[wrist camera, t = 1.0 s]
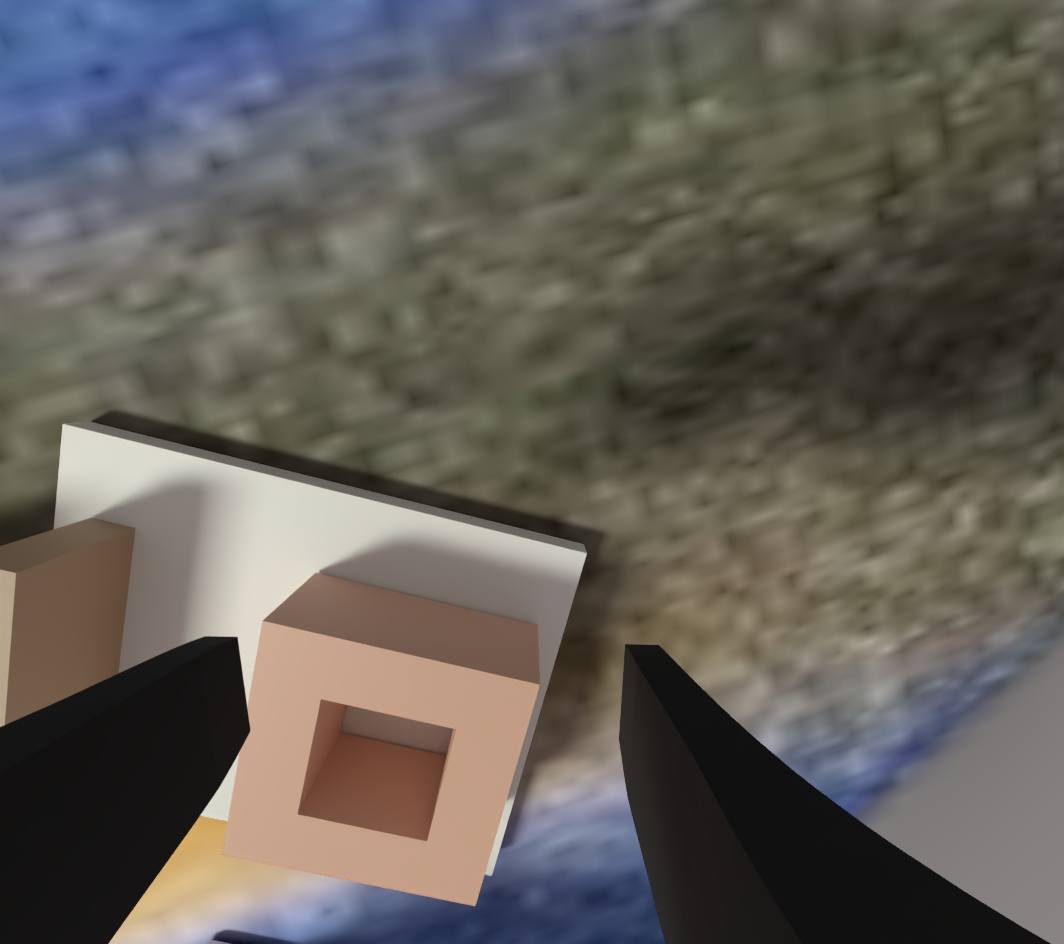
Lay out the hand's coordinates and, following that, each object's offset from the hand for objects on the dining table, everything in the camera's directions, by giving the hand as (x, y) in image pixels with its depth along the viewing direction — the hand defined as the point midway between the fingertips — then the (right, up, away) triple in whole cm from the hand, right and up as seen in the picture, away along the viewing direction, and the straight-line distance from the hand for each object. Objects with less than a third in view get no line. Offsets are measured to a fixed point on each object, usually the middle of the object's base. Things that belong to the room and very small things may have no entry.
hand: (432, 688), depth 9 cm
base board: (-7, -3, +10) cm, 12 cm away
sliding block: (-3, -4, +9) cm, 10 cm away
